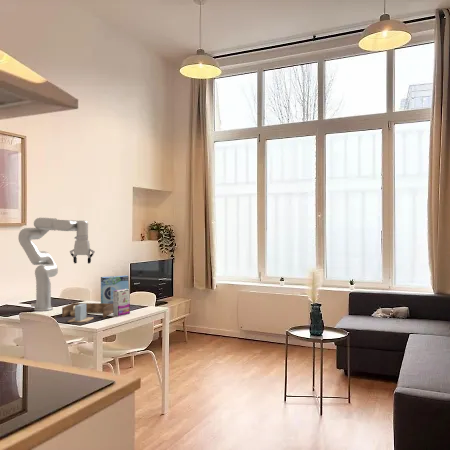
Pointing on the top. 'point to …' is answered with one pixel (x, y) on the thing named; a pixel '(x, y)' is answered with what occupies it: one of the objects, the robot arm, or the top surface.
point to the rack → (90, 308)
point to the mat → (81, 320)
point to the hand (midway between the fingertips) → (82, 263)
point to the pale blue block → (80, 312)
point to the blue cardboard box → (112, 287)
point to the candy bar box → (121, 302)
